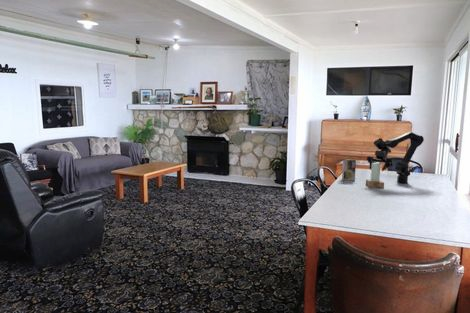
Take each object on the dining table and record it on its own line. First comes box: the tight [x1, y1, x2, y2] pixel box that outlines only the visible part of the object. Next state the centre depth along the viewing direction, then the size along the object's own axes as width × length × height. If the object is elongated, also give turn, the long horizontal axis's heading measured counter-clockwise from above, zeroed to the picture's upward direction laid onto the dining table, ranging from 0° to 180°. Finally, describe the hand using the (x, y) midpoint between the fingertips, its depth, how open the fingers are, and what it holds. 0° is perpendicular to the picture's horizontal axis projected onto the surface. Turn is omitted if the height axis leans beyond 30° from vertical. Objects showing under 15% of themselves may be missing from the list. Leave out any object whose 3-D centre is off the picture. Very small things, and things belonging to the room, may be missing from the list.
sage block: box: [370, 162, 382, 182], centre depth 268 cm, size 4×4×13 cm
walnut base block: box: [365, 178, 385, 189], centre depth 269 cm, size 10×10×4 cm
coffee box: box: [341, 158, 357, 181], centre depth 291 cm, size 9×6×16 cm
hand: (376, 169), depth 268 cm, fingers open, 9 cm apart
